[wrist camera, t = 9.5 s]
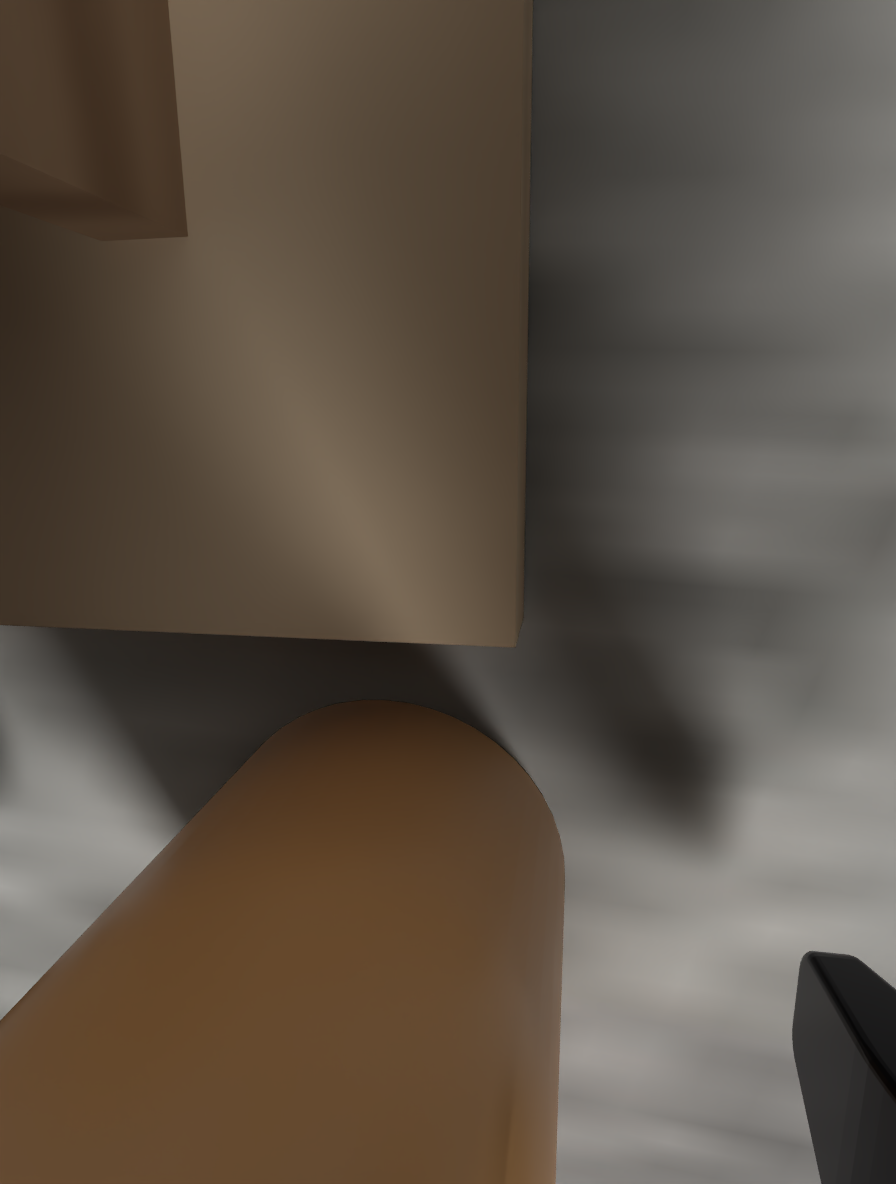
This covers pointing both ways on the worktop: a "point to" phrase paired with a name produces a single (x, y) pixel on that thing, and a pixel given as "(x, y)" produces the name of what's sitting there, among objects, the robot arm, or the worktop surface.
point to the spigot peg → (313, 979)
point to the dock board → (265, 317)
